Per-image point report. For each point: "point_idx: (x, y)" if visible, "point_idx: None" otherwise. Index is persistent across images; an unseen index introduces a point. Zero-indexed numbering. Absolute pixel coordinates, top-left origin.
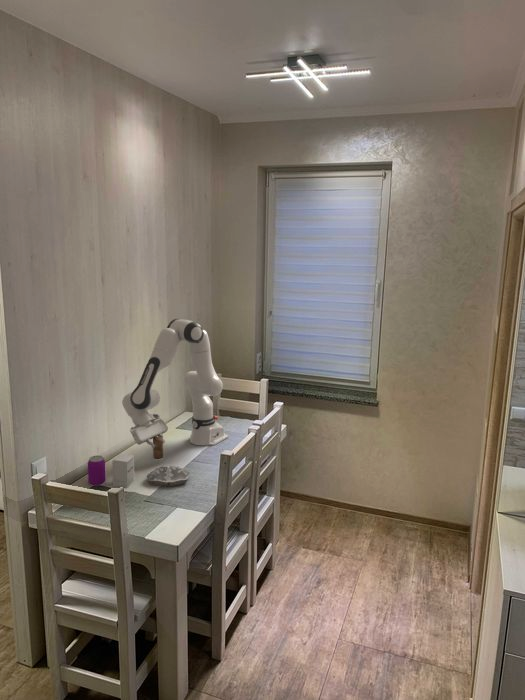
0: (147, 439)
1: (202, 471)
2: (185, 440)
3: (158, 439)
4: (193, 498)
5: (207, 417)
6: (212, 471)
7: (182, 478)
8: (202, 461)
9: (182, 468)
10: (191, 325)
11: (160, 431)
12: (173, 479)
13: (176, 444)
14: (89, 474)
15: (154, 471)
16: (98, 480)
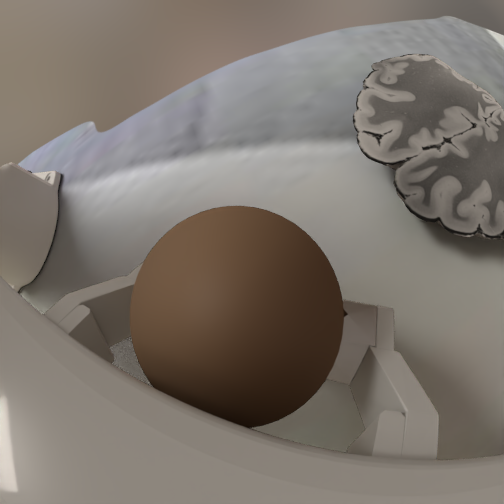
0: (462, 461)
1: (290, 68)
2: (31, 301)
3: (262, 275)
4: (471, 48)
5: None
6: (273, 50)
7: (442, 69)
8: (190, 115)
9: (360, 96)
10: None
11: (21, 326)
12: (476, 96)
13: None
14: None
15: (488, 220)
16: None
